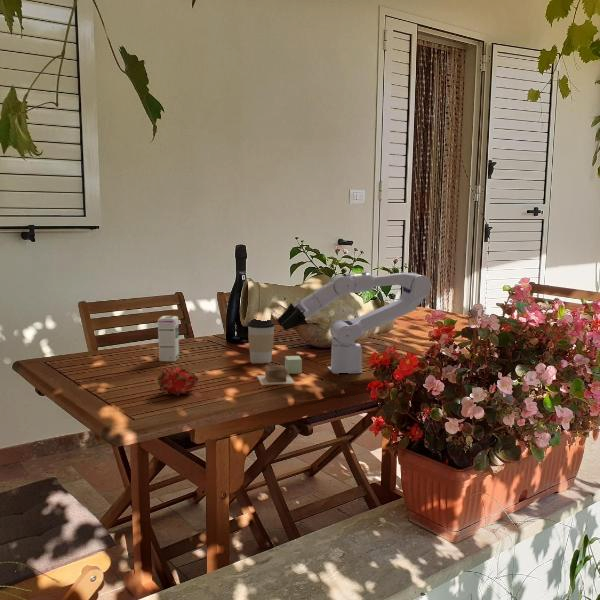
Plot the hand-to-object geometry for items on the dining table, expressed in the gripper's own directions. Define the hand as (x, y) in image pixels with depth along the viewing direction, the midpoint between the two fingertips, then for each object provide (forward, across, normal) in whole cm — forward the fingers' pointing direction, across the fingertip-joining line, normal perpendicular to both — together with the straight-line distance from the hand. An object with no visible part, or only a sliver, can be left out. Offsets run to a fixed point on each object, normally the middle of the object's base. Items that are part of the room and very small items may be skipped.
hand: (280, 325), depth 202 cm
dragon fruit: (+35, +16, -4) cm, 39 cm away
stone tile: (+11, +8, +11) cm, 18 cm away
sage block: (+5, 0, +15) cm, 16 cm away
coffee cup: (+12, -15, +11) cm, 22 cm away
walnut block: (+10, +8, +11) cm, 17 cm away
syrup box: (+37, -23, -5) cm, 44 cm away
